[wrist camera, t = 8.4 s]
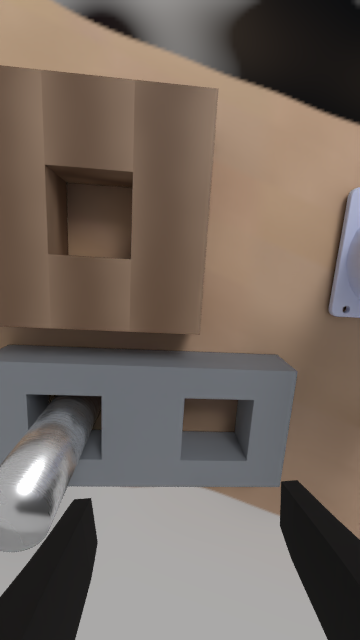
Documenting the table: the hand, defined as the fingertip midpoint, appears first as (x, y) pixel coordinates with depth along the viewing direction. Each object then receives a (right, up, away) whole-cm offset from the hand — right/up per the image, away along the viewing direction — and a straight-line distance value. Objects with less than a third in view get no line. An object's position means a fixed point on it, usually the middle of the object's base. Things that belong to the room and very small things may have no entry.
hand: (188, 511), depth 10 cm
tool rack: (-3, +1, +9) cm, 10 cm away
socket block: (-5, +13, +6) cm, 15 cm away
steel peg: (-7, +2, +9) cm, 11 cm away
